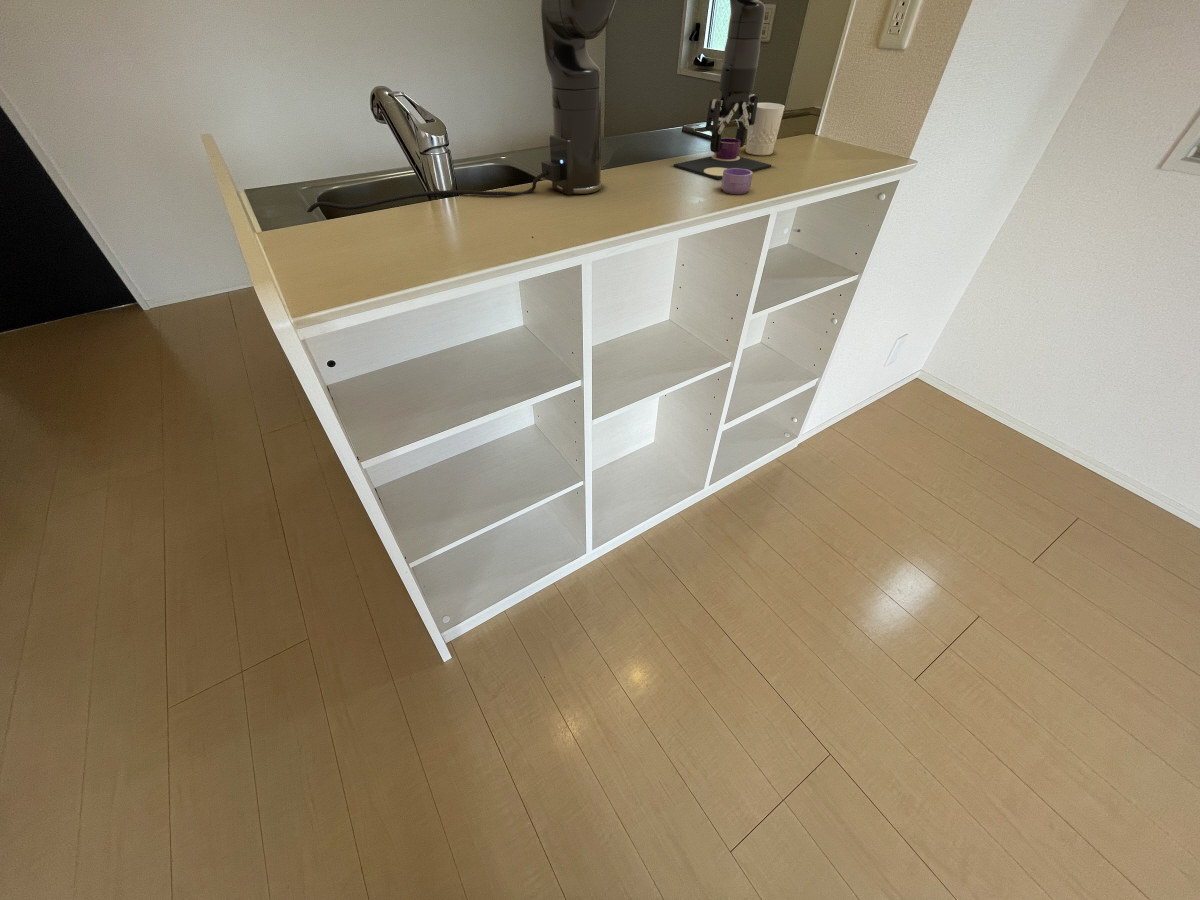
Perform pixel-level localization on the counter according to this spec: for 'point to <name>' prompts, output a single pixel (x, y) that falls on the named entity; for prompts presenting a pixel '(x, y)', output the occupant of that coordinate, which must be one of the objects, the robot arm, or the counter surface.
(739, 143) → the plum dish
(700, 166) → the mat
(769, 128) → the white cup
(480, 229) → the counter surface
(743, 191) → the lilac dish
